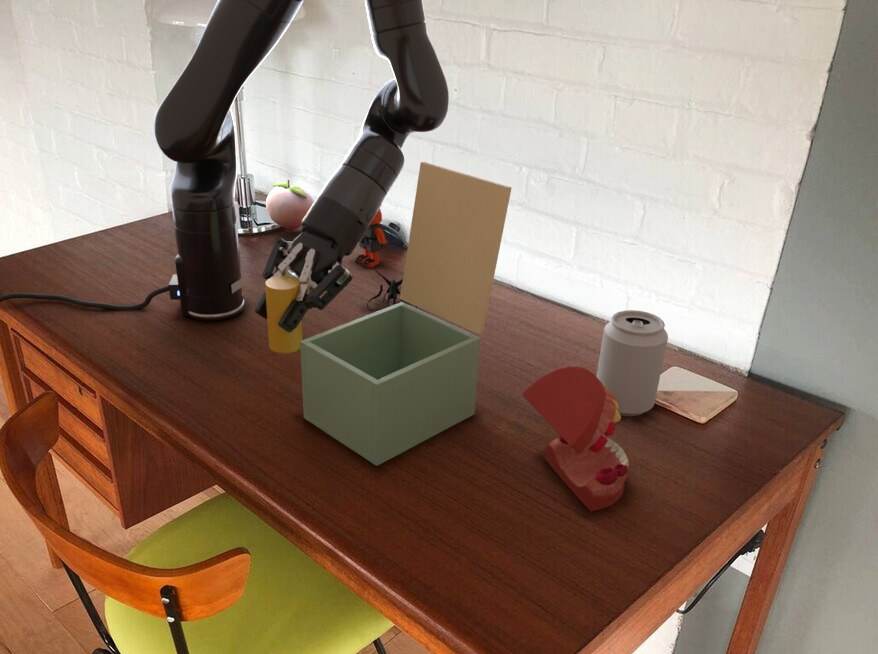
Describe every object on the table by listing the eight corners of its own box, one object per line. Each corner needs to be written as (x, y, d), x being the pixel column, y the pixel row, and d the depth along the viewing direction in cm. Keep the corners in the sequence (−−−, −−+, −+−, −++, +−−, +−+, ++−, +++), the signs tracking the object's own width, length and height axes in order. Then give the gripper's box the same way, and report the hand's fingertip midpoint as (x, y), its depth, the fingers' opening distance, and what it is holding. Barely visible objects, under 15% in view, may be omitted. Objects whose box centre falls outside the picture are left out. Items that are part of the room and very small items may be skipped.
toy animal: (338, 260, 148) (337, 194, 142) (363, 253, 151) (363, 188, 145) (364, 274, 143) (364, 206, 137) (389, 267, 145) (390, 200, 139)
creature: (415, 323, 129) (418, 292, 135) (416, 295, 125) (419, 265, 131) (365, 321, 130) (370, 290, 135) (364, 293, 126) (369, 263, 132)
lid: (507, 187, 91) (512, 187, 92) (420, 161, 100) (425, 161, 101) (478, 334, 98) (483, 333, 99) (399, 298, 107) (404, 298, 108)
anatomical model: (659, 491, 89) (632, 388, 81) (597, 528, 89) (564, 429, 80) (603, 440, 98) (573, 343, 90) (546, 474, 97) (511, 379, 89)
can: (654, 394, 108) (671, 311, 102) (651, 424, 102) (669, 337, 96) (595, 385, 110) (609, 302, 104) (589, 413, 104) (603, 328, 98)
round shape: (267, 353, 107) (263, 289, 102) (270, 338, 111) (266, 275, 106) (301, 353, 107) (299, 289, 103) (303, 337, 111) (300, 275, 106)
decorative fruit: (257, 232, 161) (254, 181, 155) (284, 220, 166) (281, 171, 161) (295, 242, 156) (293, 190, 151) (322, 229, 162) (320, 179, 157)
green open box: (376, 466, 95) (377, 384, 89) (303, 418, 103) (299, 341, 98) (474, 414, 104) (480, 337, 99) (400, 374, 113) (401, 301, 107)
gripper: (292, 181, 108) (221, 291, 107) (365, 208, 99) (288, 329, 98) (325, 211, 114) (257, 316, 113) (396, 240, 105) (324, 354, 104)
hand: (272, 321), depth 106 cm, fingers closed on round shape, 4 cm apart
